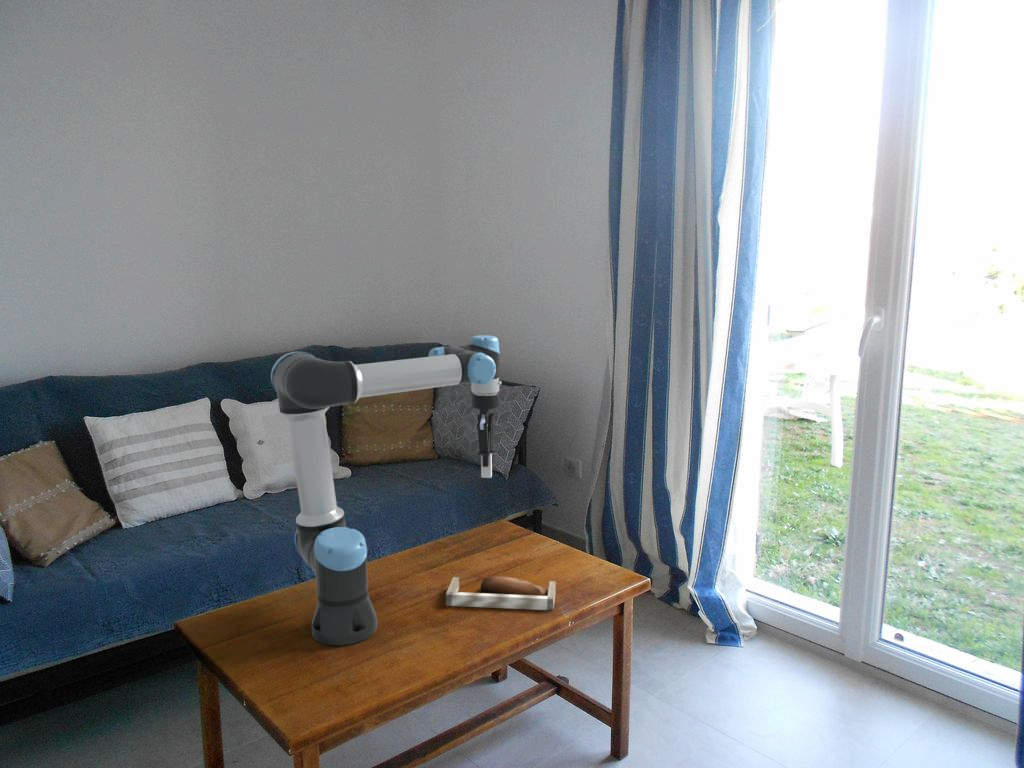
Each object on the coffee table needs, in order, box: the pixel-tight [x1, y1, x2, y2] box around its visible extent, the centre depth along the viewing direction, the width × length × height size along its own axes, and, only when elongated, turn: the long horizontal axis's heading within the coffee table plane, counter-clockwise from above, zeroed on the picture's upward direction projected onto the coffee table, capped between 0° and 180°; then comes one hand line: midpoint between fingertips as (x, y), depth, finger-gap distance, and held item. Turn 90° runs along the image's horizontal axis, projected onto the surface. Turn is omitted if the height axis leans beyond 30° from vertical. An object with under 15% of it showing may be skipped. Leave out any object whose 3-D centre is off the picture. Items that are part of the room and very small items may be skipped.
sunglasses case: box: [480, 576, 549, 596], centre depth 195 cm, size 18×7×7 cm
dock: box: [445, 576, 557, 611], centre depth 191 cm, size 27×10×3 cm, turn 84°
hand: (486, 476), depth 206 cm, fingers closed
